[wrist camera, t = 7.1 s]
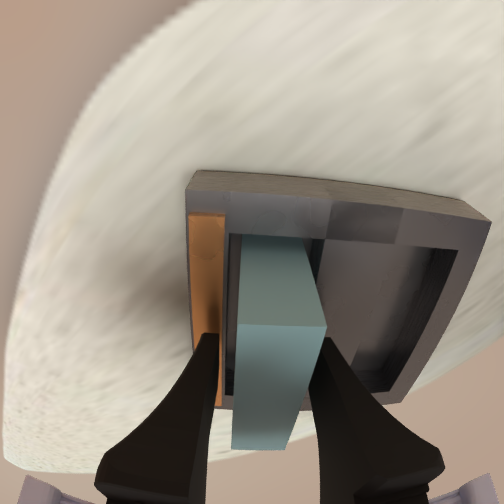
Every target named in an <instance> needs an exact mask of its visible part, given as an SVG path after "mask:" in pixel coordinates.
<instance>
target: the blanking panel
mask: <svg viewBox="0 0 504 504" xmlns="http://www.w3.org/2000/svg"><path fill="white" fill-rule="evenodd" d="M326 329H327V324H326V321H325V317H324V313H323V310H322V306H321V302H320V299H319V295H318V292H317V288H316V285H315V281H314V278H313V274H312V271H311V267H310V264H309V261H308V257H307V254H306V251H305V247H304V244H303V241H302V238H301V237H286V236H270V235H254V234H242V246H241V262H240V280H239V297H238V315H237V333H236V352H235V373H234V395H233V418H232V442H231V449H236V450H285V448H286V445H287V443H288V440H289V437H290V435H291V432H292V430H293V427H294V424H295V422H296V419H297V416H298V414H299V411H300V408H301V405H302V403H303V400H304V397H305V394H306V391H307V388H308V385H309V383H310V380H311V377H312V374H313V371H314V368H315V365H316V361H317V358H318V355H319V352H320V349H321V346H322V342H323V339H324V336H325V332H326Z"/></svg>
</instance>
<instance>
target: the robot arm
mask: <svg viewBox="0 0 504 504" xmlns="http://www.w3.org/2000/svg"><path fill="white" fill-rule="evenodd" d="M218 379H219V333H205V332H204V333H203V334H201V337H200V340H199V342H198V345H197V347H196V349H195V351H194V353H193V355H192V357H191V359H190V360H189V362H188V364H187V366H186V367H185V369H184V371H183V372H182V374H181V375H180V377H179V378H178V380H177V381H176V383H175V384H174V386H173V387H172V389H171V390H170V391H169V393H168V394H167V395H166V396H165V398H164V399H163V400H162V401H161V403H160V404H159V405H158V406H157V407H156V408H155V409H154V411H153V412H152V413H151V414H150V415H149V416H148V417H147V418H146V419H145V420H144V421H143V422H142V423H141V424H140V425H139V426H138V427H137V428H136V429H134V430H133V431H132V432H131V433H130V434H129V435H128V436H127V437H125V438H124V439H123V440H122V441H120V442H119V443H118V444H116V445H115V446H114V447H112V448H111V449H109V450H108V451H107V452H106V453H105V454H104V456H103V458H102V460H101V462H100V464H99V466H98V469H97V473H96V477H95V482H94V486H95V487H96V488H97V490H99V491H100V492H101V493H102V494H103V495H105V496H106V497H107V502H106V504H205V498H206V497H205V496H206V476H207V459H208V444H209V435H210V429H211V423H212V418H213V412H214V407H215V401H216V396H217V390H218ZM308 391H309V396H310V401H311V407H312V412H313V417H314V422H315V427H316V432H317V438H318V448H319V465H320V504H499V501H498V498H497V495H496V492H495V488H494V485H493V482H492V480H491V476H490V474H489V473H487V474H485V475H482V476H480V477H478V478H476V479H474V480H471V481H469V482H468V483H466V484H464V485H463V486H461V487H460V488H459V489H457V490H455V491H452V492H449V493H447V494H444V495H441V496H438V497H436V498H433V499H430V500H428V498H427V494H426V492H428V491H429V486H428V483H429V482H431V481H432V480H433V479H435V478H436V477H437V476H439V475H440V474H441V473H442V472H443V471H444V469H445V465H444V461H443V458H442V455H441V453H440V451H439V449H438V448H437V447H435V446H433V445H432V444H430V443H428V442H427V441H425V440H423V439H422V438H420V437H419V436H417V435H416V434H414V433H413V432H412V431H410V430H409V429H408V428H406V427H405V426H404V425H403V424H401V423H400V422H399V421H398V420H397V419H396V418H394V417H393V416H392V415H391V414H390V413H389V412H388V411H387V410H386V409H385V408H384V407H383V406H382V405H381V404H380V403H379V402H378V401H377V400H376V399H375V398H374V397H373V396H372V394H371V393H370V392H369V391H368V390H367V388H366V387H365V386H364V385H363V383H362V382H361V381H360V380H359V378H358V377H357V376H356V374H355V373H354V371H353V370H352V369H351V367H350V366H349V364H348V363H347V361H346V360H345V358H344V357H343V355H342V354H341V352H340V351H339V349H338V348H337V346H336V345H335V343H334V341H333V340H332V339H331V337H324V339H323V342H322V346H321V349H320V352H319V355H318V358H317V361H316V365H315V368H314V371H313V374H312V377H311V380H310V383H309V385H308ZM17 504H94V503H90V502H88V501H84V500H81V499H79V498H75V497H73V496H70V495H67V494H65V493H62V492H61V491H60V490H59V489H57V488H56V487H54V486H52V485H50V484H48V483H46V482H43V481H41V480H38V479H36V478H34V477H32V476H29V475H26V477H25V480H24V483H23V487H22V490H21V493H20V496H19V500H18V503H17Z"/></svg>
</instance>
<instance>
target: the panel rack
mask: <svg viewBox="0 0 504 504" xmlns="http://www.w3.org/2000/svg"><path fill="white" fill-rule="evenodd" d="M185 197H186V243H187V269H188V289H189V306H190V321H191V335H192V347H193V353H194V351H195V349H196V347H197V345H198V342H199V340H200V337H201V334H203V333H204V332H205V333H219V379H218V390H217V396H216V401H215V407H214V409H229V410H233V395H234V373H235V352H236V333H237V315H238V297H239V280H240V262H241V246H242V234H254V235H270V236H286V237H301V238H302V241H303V244H304V247H305V251H306V254H307V257H308V261H309V264H310V267H311V271H312V274H313V278H314V281H315V285H316V288H317V292H318V295H319V299H320V302H321V306H322V310H323V313H324V317H325V321H326V324H327V329H326V332H325V336H324V337H331V339H332V340H333V341H334V343H335V345H336V346H337V348H338V349H339V351H340V352H341V354H342V355H343V357H344V358H345V360H346V361H347V363H348V364H349V366H350V367H351V369H352V370H353V371H354V373H355V374H356V376H357V377H358V378H359V380H360V381H361V382H362V383H363V385H364V386H365V387H366V388H367V390H368V391H369V392H370V393H371V394H372V396H373V397H374V398H375V399H376V400H377V401H378V402H379V403H380V404H381V405H387V404H394V403H400V402H401V401H402V400H403V399H404V397H405V396H406V394H407V393H408V391H409V390H410V388H411V387H412V385H413V384H414V382H415V381H416V379H417V378H418V376H419V374H420V373H421V371H422V370H423V368H424V366H425V365H426V363H427V362H428V360H429V358H430V357H431V355H432V353H433V351H434V350H435V348H436V346H437V344H438V343H439V341H440V339H441V337H442V335H443V334H444V332H445V330H446V328H447V326H448V324H449V322H450V320H451V318H452V317H453V315H454V313H455V311H456V309H457V306H458V304H459V302H460V300H461V298H462V296H463V294H464V292H465V290H466V287H467V285H468V283H469V281H470V278H471V276H472V274H473V271H474V269H475V266H476V264H477V261H478V259H479V256H480V254H481V251H482V249H483V246H484V243H485V241H486V238H487V235H488V232H489V229H490V226H491V223H492V222H491V221H490V220H489V219H487V218H486V217H485V216H484V215H482V214H481V213H480V212H478V211H477V210H476V209H474V208H473V207H471V206H470V205H469V204H467V203H466V202H465V201H461V200H456V199H450V198H445V197H440V196H434V195H429V194H423V193H417V192H411V191H405V190H398V189H392V188H385V187H378V186H371V185H363V184H356V183H348V182H339V181H330V180H321V179H312V178H301V177H290V176H278V175H265V174H251V173H234V172H214V171H197V172H196V173H195V175H194V176H193V178H192V180H191V181H190V183H189V185H188V186H187V188H186V190H185ZM311 410H312V407H311V401H310V396H309V391H308V388H307V391H306V394H305V397H304V400H303V403H302V405H301V408H300V411H311Z"/></svg>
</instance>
